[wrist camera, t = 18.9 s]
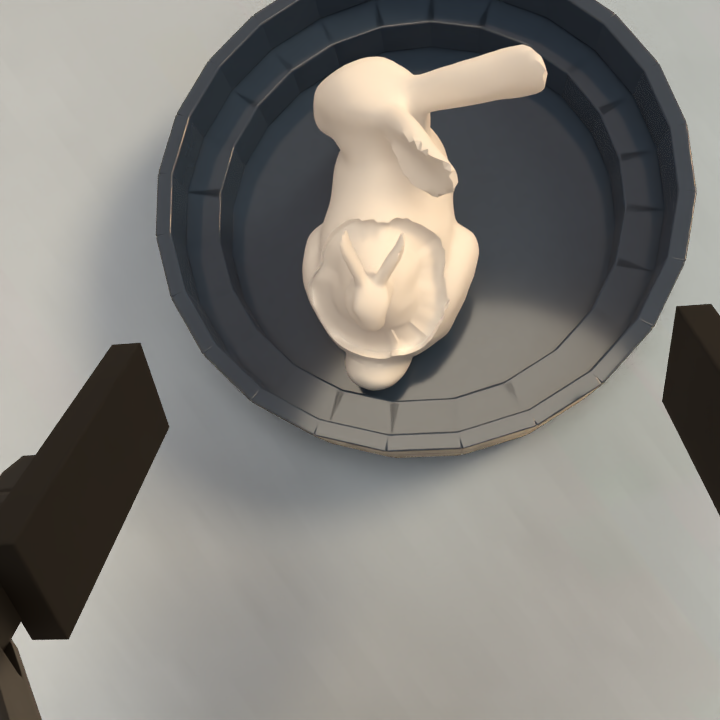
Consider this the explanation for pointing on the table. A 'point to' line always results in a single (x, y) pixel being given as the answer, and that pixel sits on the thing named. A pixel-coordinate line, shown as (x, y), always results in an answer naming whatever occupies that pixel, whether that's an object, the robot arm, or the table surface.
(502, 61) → the rabbit figurine
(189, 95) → the bowl
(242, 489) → the table surface
